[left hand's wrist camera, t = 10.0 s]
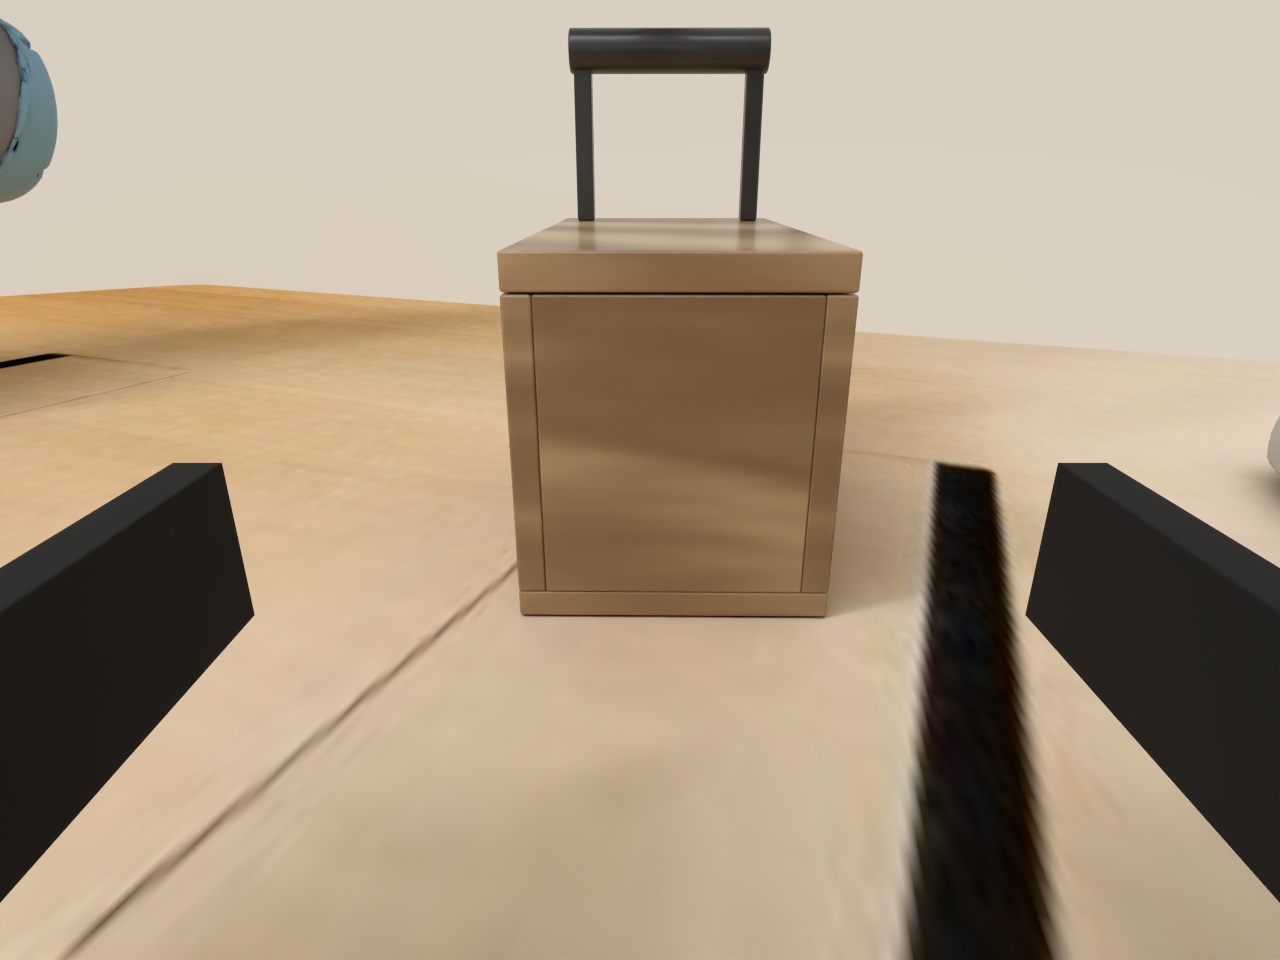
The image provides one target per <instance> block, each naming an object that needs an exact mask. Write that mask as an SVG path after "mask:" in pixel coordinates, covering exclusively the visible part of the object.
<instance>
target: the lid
mask: <svg viewBox="0 0 1280 960" xmlns="http://www.w3.org/2000/svg"><path fill="white" fill-rule="evenodd" d="M568 49H569V64H570V71H571V73H572V74H574V91H575V127H576V163H577V199H578V218H568V219H566V220H564V221H561V222H559V223H557V224H555V225H553V226H551V227H549V228H547V229H544V230H542V231H540V232H538V233H536V234H534V235H532V236H530V237H527V238H525V239H523V240H521V241H519V242H517V243H515V244H513V245H510V246H508V247H506V248H504V249H502V250H500V251H498V253H497V260H498V275H499V289H500V291H501V292H601V293H857V292H858V291H859V286H860V276H861V267H862V257H863V254H862V252H861V251H859V250H856V249H853V248H850V247H847V246H844V245H841V244H838V243H835V242H832V241H829V240H826V239H823V238H820V237H817V236H814V235H811V234H808V233H805V232H802V231H800V230H796V229H794V228H791V227H788V226H785V225H782V224H779V223H776V222H773V221H770V220H767V219H764V218H756V215H757V196H758V178H759V159H760V141H761V122H762V103H763V84H764V74H765V73H767V71H768V68H769V62H770V53H771V31H770V28H570V29H569V36H568ZM592 74H745V92H744V114H743V136H742V159H741V180H740V202H739V218H595V189H594V140H593V90H592Z"/></svg>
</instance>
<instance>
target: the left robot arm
mask: <svg viewBox="0 0 1280 960" xmlns="http://www.w3.org/2000/svg"><path fill="white" fill-rule="evenodd" d="M253 616H254V610H253V606H252V601H251V596H250V592H249V587H248V582H247V578H246V573H245V569H244V564H243V559H242V555H241V550H240V545H239V541H238V536H237V531H236V527H235V522H234V518H233V513H232V508H231V504H230V499H229V494H228V490H227V485H226V480H225V476H224V471H223V467H222V463H172V464H171V465H169V466H167V467H166V468H164V469H162V470H161V471H159V472H157V473H156V474H154V475H152V476H151V477H149V478H148V479H146V480H144V481H143V482H141V483H139V484H138V485H136V486H134V487H133V488H131V489H129V490H128V491H126V492H125V493H123V494H121V495H120V496H118V497H116V498H115V499H113V500H111V501H110V502H108V503H106V504H105V505H103V506H102V507H100V508H98V509H97V510H95V511H93V512H92V513H90V514H88V515H87V516H85V517H83V518H82V519H80V520H79V521H77V522H75V523H74V524H72V525H70V526H69V527H67V528H65V529H64V530H62V531H60V532H59V533H57V534H56V535H54V536H52V537H51V538H49V539H47V540H46V541H44V542H42V543H41V544H39V545H37V546H36V547H34V548H33V549H31V550H29V551H28V552H26V553H24V554H23V555H21V556H19V557H18V558H16V559H14V560H13V561H11V562H9V563H8V564H6V565H5V566H3V567H1V568H0V902H1V901H2V900H3V899H4V898H5V897H6V896H7V894H8V893H9V892H10V891H11V890H12V889H13V888H14V886H15V885H16V884H17V883H18V882H19V881H20V880H21V879H22V877H23V876H24V875H25V874H26V873H27V872H28V871H29V870H30V868H31V867H32V866H33V865H34V864H35V863H36V862H37V860H38V859H39V858H40V857H41V856H42V855H43V854H44V853H45V851H46V850H47V849H48V848H49V847H50V846H51V845H52V843H53V842H54V841H55V840H56V839H57V838H58V837H59V836H60V834H61V833H62V832H63V831H64V830H65V829H66V828H67V827H68V825H69V824H70V823H71V822H72V821H73V820H74V819H75V817H76V816H77V815H78V814H79V813H80V812H81V811H82V810H83V808H84V807H85V806H86V805H87V804H88V803H89V802H90V801H91V799H92V798H93V797H94V796H95V795H96V794H97V793H98V791H99V790H100V789H101V788H102V787H103V786H104V785H105V784H106V782H107V781H108V780H109V779H110V778H111V777H112V776H113V774H114V773H115V772H116V771H117V770H118V769H119V768H120V767H121V765H122V764H123V763H124V762H125V761H126V760H127V759H128V758H129V756H130V755H131V754H132V753H133V752H134V751H135V750H136V748H137V747H138V746H139V745H140V744H141V743H142V742H143V741H144V739H145V738H146V737H147V736H148V735H149V734H150V733H151V732H152V730H153V729H154V728H155V727H156V726H157V725H158V724H159V722H160V721H161V720H162V719H163V718H164V717H165V716H166V715H167V713H168V712H169V711H170V710H171V709H172V708H173V707H174V705H175V704H176V703H177V702H178V701H179V700H180V699H181V698H182V696H183V695H184V694H185V693H186V692H187V691H188V690H189V689H190V687H191V686H192V685H193V684H194V683H195V682H196V681H197V679H198V678H199V677H200V676H201V675H202V674H203V673H204V672H205V670H206V669H207V668H208V667H209V666H210V665H211V664H212V662H213V661H214V660H215V659H216V658H217V657H218V656H219V655H220V653H221V652H222V651H223V650H224V649H225V648H226V647H227V646H228V644H229V643H230V642H231V641H232V640H233V639H234V638H235V636H236V635H237V634H238V633H239V632H240V631H241V630H242V629H243V627H244V626H245V625H246V624H247V623H248V622H249V621H250V620H251V618H252V617H253ZM1026 616H1027V617H1028V618H1029V620H1030V621H1031V622H1032V623H1033V624H1034V625H1035V626H1036V627H1037V629H1038V630H1039V631H1040V632H1041V633H1042V634H1043V635H1044V636H1045V638H1046V639H1047V640H1048V641H1049V642H1050V643H1051V644H1052V646H1053V647H1054V648H1055V649H1056V650H1057V651H1058V652H1059V653H1060V655H1061V656H1062V657H1063V658H1064V659H1065V660H1066V661H1067V662H1068V664H1069V665H1070V666H1071V667H1072V668H1073V669H1074V670H1075V672H1076V673H1077V674H1078V675H1079V676H1080V677H1081V678H1082V679H1083V681H1084V682H1085V683H1086V684H1087V685H1088V686H1089V687H1090V689H1091V690H1092V691H1093V692H1094V693H1095V694H1096V695H1097V696H1098V698H1099V699H1100V700H1101V701H1102V702H1103V703H1104V704H1105V705H1106V707H1107V708H1108V709H1109V710H1110V711H1111V712H1112V713H1113V715H1114V716H1115V717H1116V718H1117V719H1118V720H1119V721H1120V722H1121V724H1122V725H1123V726H1124V727H1125V728H1126V729H1127V730H1128V732H1129V733H1130V734H1131V735H1132V736H1133V737H1134V738H1135V739H1136V741H1137V742H1138V743H1139V744H1140V745H1141V746H1142V747H1143V748H1144V750H1145V751H1146V752H1147V753H1148V754H1149V755H1150V756H1151V758H1152V759H1153V760H1154V761H1155V762H1156V763H1157V764H1158V765H1159V767H1160V768H1161V769H1162V770H1163V771H1164V772H1165V773H1166V774H1167V776H1168V777H1169V778H1170V779H1171V780H1172V781H1173V782H1174V784H1175V785H1176V786H1177V787H1178V788H1179V789H1180V790H1181V791H1182V793H1183V794H1184V795H1185V796H1186V797H1187V798H1188V799H1189V801H1190V802H1191V803H1192V804H1193V805H1194V806H1195V807H1196V808H1197V810H1198V811H1199V812H1200V813H1201V814H1202V815H1203V816H1204V817H1205V819H1206V820H1207V821H1208V822H1209V823H1210V824H1211V825H1212V827H1213V828H1214V829H1215V830H1216V831H1217V832H1218V833H1219V834H1220V836H1221V837H1222V838H1223V839H1224V840H1225V841H1226V842H1227V843H1228V845H1229V846H1230V847H1231V848H1232V849H1233V850H1234V851H1235V853H1236V854H1237V855H1238V856H1239V857H1240V858H1241V859H1242V860H1243V862H1244V863H1245V864H1246V865H1247V866H1248V867H1249V868H1250V870H1251V871H1252V872H1253V873H1254V874H1255V875H1256V876H1257V877H1258V879H1259V880H1260V881H1261V882H1262V883H1263V884H1264V885H1265V886H1266V888H1267V889H1268V890H1269V891H1270V892H1271V893H1272V894H1273V896H1274V897H1275V898H1276V899H1277V900H1278V901H1279V902H1280V568H1279V567H1277V566H1275V565H1274V564H1272V563H1271V562H1269V561H1267V560H1266V559H1264V558H1262V557H1261V556H1259V555H1257V554H1256V553H1254V552H1252V551H1251V550H1249V549H1247V548H1246V547H1244V546H1243V545H1241V544H1239V543H1238V542H1236V541H1234V540H1233V539H1231V538H1229V537H1228V536H1226V535H1224V534H1223V533H1221V532H1220V531H1218V530H1216V529H1215V528H1213V527H1211V526H1210V525H1208V524H1206V523H1205V522H1203V521H1201V520H1200V519H1198V518H1197V517H1195V516H1193V515H1192V514H1190V513H1188V512H1187V511H1185V510H1183V509H1182V508H1180V507H1178V506H1177V505H1175V504H1174V503H1172V502H1170V501H1169V500H1167V499H1165V498H1164V497H1162V496H1160V495H1159V494H1157V493H1155V492H1154V491H1152V490H1151V489H1149V488H1147V487H1146V486H1144V485H1142V484H1141V483H1139V482H1137V481H1136V480H1134V479H1132V478H1131V477H1129V476H1128V475H1126V474H1124V473H1123V472H1121V471H1119V470H1118V469H1116V468H1114V467H1113V466H1111V465H1109V464H1108V463H1058V467H1057V471H1056V476H1055V480H1054V485H1053V490H1052V494H1051V499H1050V504H1049V508H1048V513H1047V518H1046V522H1045V527H1044V531H1043V536H1042V541H1041V545H1040V550H1039V555H1038V559H1037V564H1036V569H1035V573H1034V578H1033V582H1032V587H1031V592H1030V596H1029V601H1028V606H1027V610H1026Z"/></svg>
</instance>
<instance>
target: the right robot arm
mask: <svg viewBox="0 0 1280 960" xmlns="http://www.w3.org/2000/svg"><path fill="white" fill-rule="evenodd" d="M56 138H57V108H56V101H55V95H54V91H53V87H52V83H51V80H50V77H49V74H48V72H47V70H46V67H45V65H44V63H43V61H42V59H41V58H40V56H39V54H38V53H37V52H35V51H33V50H31V49H30V42H29V41H28V39H27V38H26V37H25V36H24V35H23V34H22V33H21V32H20V31H19V30H18V29H16V28H15V27H13V26H12V25H10V24H9V23H7V22H4V21H3V20H1V19H0V203H2V202H7V201H11V200H14V199H17V198H19V197H21V196H23V195H24V194H26V193H27V192H29V191H30V190H31V189H33V188H34V187H35V186H36V185H37V183H38V182H39V181H40V179H41V178H42V175H43V171H44V169H46V168H47V167H48V166H49V165H50V162H51V159H52V156H53V153H54V149H55V144H56Z"/></svg>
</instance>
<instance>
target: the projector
mask: <svg viewBox="0 0 1280 960" xmlns="http://www.w3.org/2000/svg"><path fill="white" fill-rule="evenodd" d="M1267 458H1268V460H1269V463H1270V464H1271V466H1272V467H1273V468H1274V469H1275V471H1276V472H1278V473H1279V474H1280V417H1279V418H1278V420H1277V422H1276V424H1275V426H1274V428H1273V430H1272V434H1271V437H1270V441H1269V444H1268V453H1267Z"/></svg>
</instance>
